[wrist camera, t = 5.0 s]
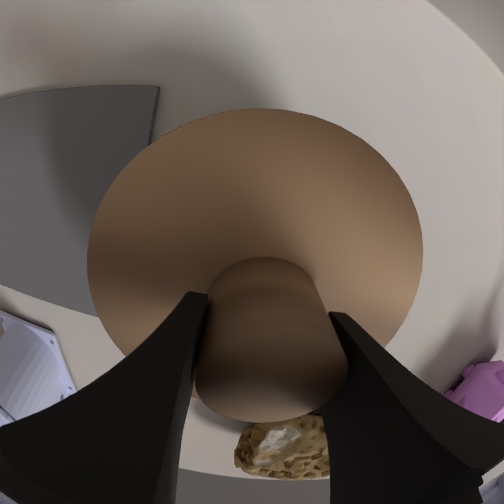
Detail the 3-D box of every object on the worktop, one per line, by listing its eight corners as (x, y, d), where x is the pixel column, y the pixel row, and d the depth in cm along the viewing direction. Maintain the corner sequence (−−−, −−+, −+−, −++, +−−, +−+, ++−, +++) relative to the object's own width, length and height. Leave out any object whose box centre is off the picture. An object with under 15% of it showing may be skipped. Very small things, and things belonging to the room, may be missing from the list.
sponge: (233, 430, 27) (369, 460, 27) (222, 482, 19) (380, 502, 19) (286, 348, 24) (431, 394, 24) (287, 404, 16) (458, 435, 16)
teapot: (480, 326, 20) (528, 388, 11) (519, 329, 22) (554, 373, 13) (394, 427, 27) (415, 484, 18) (449, 415, 29) (470, 458, 20)
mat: (142, 324, 18) (140, 327, 17) (-2, 280, 16) (-4, 282, 16) (159, 87, 11) (157, 86, 11) (-13, 103, 10) (-16, 104, 9)
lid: (342, 395, 14) (361, 455, 10) (112, 371, 12) (89, 437, 8) (451, 174, 9) (530, 210, 5) (105, 89, 7) (19, 78, 3)
